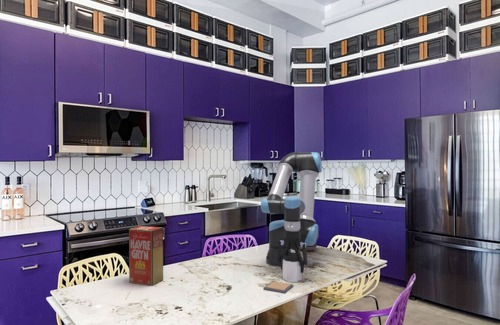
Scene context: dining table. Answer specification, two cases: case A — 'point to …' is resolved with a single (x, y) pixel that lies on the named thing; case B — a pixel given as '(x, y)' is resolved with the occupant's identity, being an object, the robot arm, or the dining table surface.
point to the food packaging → (146, 255)
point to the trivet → (278, 287)
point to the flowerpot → (310, 247)
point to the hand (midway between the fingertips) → (292, 277)
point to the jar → (291, 267)
